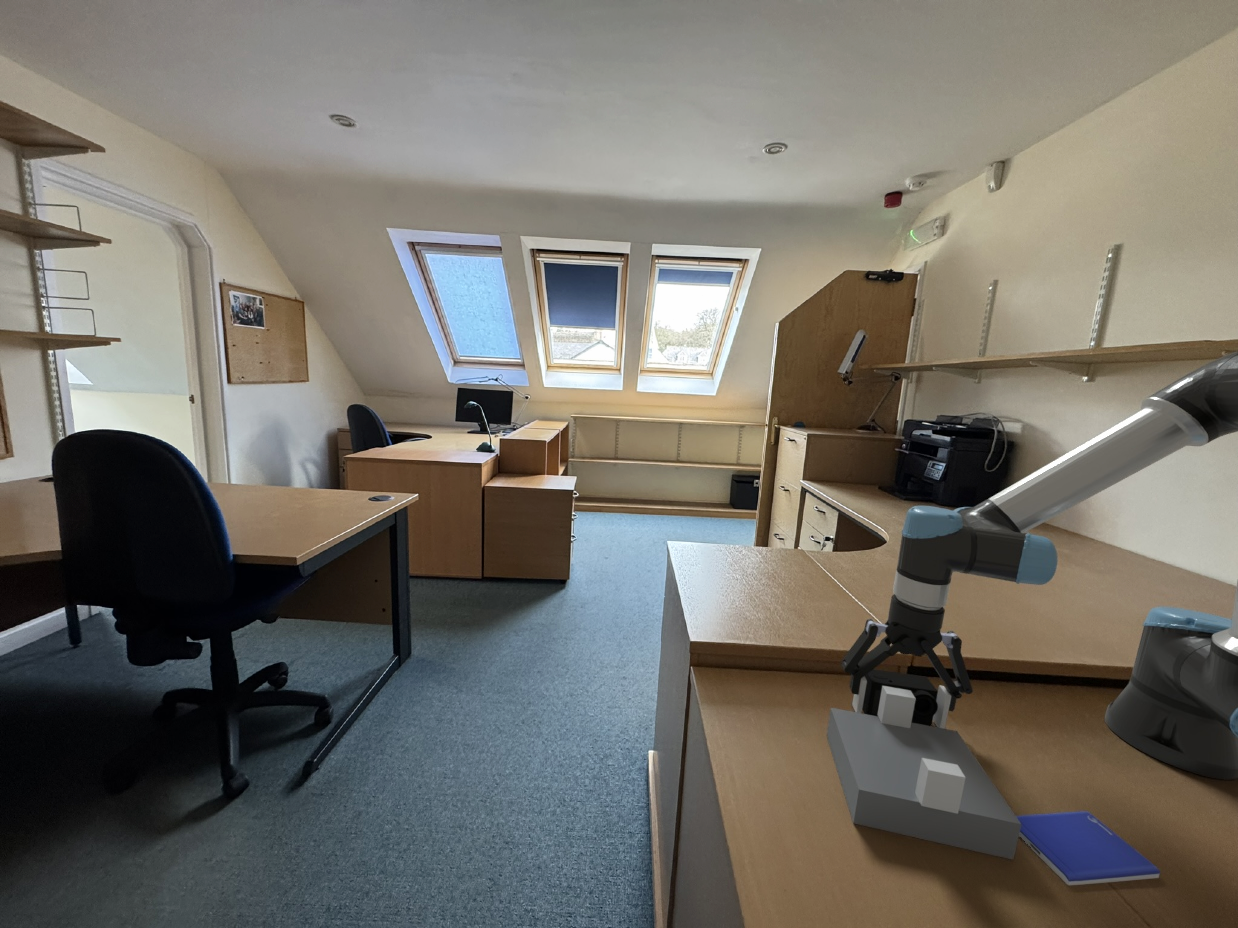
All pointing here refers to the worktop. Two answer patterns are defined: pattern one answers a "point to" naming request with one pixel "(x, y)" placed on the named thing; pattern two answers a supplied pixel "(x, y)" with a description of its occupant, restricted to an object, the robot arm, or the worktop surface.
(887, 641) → the robot arm
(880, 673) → the digital camera
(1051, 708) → the worktop surface
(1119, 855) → the hard drive
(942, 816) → the stand
